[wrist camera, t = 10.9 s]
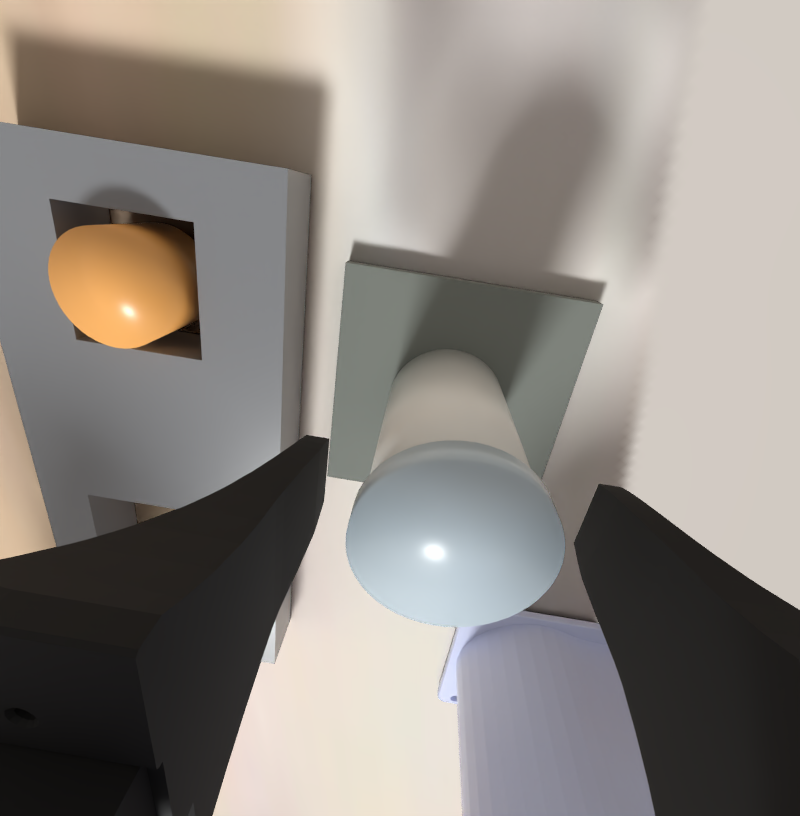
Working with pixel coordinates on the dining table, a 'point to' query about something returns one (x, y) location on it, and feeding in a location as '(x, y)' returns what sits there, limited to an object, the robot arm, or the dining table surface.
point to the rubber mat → (458, 330)
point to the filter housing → (162, 358)
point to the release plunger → (125, 281)
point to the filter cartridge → (452, 502)
